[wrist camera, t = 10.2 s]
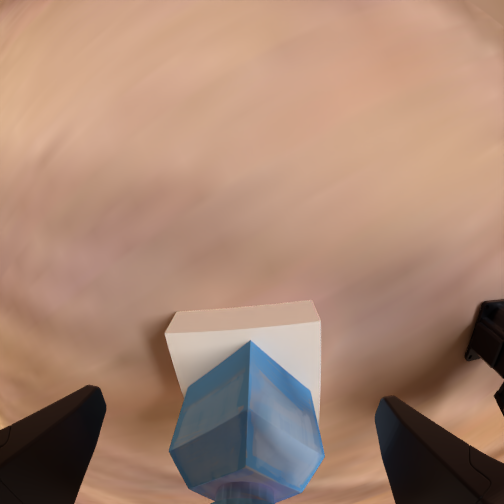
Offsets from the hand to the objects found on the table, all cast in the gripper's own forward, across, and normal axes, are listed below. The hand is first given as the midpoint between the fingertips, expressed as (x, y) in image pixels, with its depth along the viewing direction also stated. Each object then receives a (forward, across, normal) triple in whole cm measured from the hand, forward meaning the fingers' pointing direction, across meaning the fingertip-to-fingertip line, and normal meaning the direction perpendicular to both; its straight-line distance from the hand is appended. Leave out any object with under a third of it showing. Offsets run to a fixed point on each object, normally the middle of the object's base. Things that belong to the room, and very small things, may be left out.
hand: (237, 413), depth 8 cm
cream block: (+14, 0, +8) cm, 16 cm away
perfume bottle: (+10, 0, +8) cm, 13 cm away
